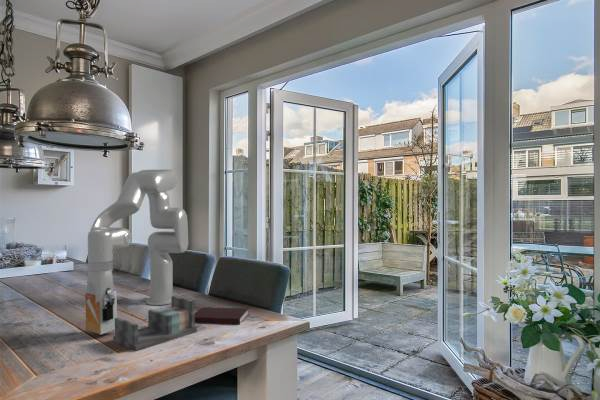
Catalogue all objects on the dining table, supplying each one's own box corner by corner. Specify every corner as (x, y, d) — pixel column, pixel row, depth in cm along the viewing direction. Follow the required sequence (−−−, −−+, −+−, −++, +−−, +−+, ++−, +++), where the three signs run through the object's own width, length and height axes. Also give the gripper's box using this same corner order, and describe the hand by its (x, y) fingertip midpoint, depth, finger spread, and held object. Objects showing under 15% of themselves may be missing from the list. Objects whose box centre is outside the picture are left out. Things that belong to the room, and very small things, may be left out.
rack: (113, 340, 124) (113, 308, 124) (172, 323, 141) (172, 295, 141) (136, 351, 115) (136, 316, 115) (196, 331, 133) (196, 301, 133)
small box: (85, 330, 129) (84, 292, 129) (102, 325, 135) (102, 288, 134) (100, 335, 125) (99, 295, 125) (117, 328, 131) (117, 291, 131)
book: (239, 326, 140) (239, 317, 140) (189, 323, 142) (189, 315, 143) (249, 316, 152) (249, 308, 152) (202, 314, 155) (202, 306, 155)
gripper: (77, 265, 132) (78, 315, 132) (101, 271, 121) (102, 325, 122) (100, 262, 138) (100, 309, 138) (124, 267, 127) (125, 319, 127)
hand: (101, 317), depth 130 cm, fingers closed on small box, 8 cm apart
